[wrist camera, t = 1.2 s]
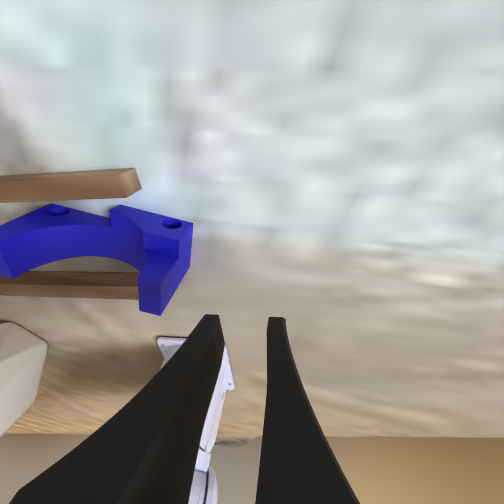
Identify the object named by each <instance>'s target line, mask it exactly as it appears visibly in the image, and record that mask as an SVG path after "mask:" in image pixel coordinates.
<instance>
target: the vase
mask: <svg viewBox="0 0 504 504" xmlns="http://www.w3.org/2000/svg"><path fill="white" fill-rule="evenodd" d="M47 350H48V344H47V343H46V342H45V341H44V340H42V339H41V338H39V337H37V336H36V335H34V334H32V333H31V332H29V331H27V330H26V329H24V328H22V327H21V326H19V325H17V324H15V323H11V322H6V323H2V324H0V437H1V436H2V435H3V434H4V433H5V432H6V431H7V430H8V429H9V428H10V427H11V426H12V425H13V424H14V423H15V422H16V421H17V420H18V419H19V418H20V417H21V416H22V415H23V414H24V412H25V411H26V410H27V409H28V408H29V407H30V406H31V405H32V404H33V402H34V401H35V399H36V396H37V393H38V389H39V385H40V381H41V377H42V373H43V369H44V365H45V361H46V356H47Z"/></svg>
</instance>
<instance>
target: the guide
mask: <svg viewBox="0 0 504 504" xmlns="http://www.w3.org/2000/svg"><path fill="white" fill-rule="evenodd" d="M140 189H142V188H141V185H140V182H139V179H138V176H137V173H136V170H135V168H129V169H112V170H95V171H79V172H62V173H45V174H29V175H12V176H0V203H6V202H31V201H56V200H81V199H106V198H127V197H129V196H130V195H132V194H134V193H135V192H137V191H139V190H140ZM140 274H141V273H100V272H25V273H23V274H21V275H19V276H18V277H16V278H14V279H11V278H7V277H3V276H0V295H7V296H40V297H72V298H104V299H137V300H139V295H138V281H137V278H138V277H139V275H140Z"/></svg>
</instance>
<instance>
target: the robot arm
mask: <svg viewBox="0 0 504 504" xmlns="http://www.w3.org/2000/svg"><path fill="white" fill-rule="evenodd" d="M157 343H158V346H159V348H160V350H161V352H162V354H163V357H164V361H163V364H162V366H161V368H160V370H159V372H158V373H157V374H156V375H155V376H154V377H153V378H152V379H151V380H150V381H149V382H148V384H147V385H146V386H145V387H144V388H143V389H142V390H141V391H140V392H139V393H138V394H137V395H136V396H134V397H133V398H132V399H131V400H130V401H129V402H128V403H127V404H126V405H125V406H124V407H123V408H122V409H121V410H119V411H118V412H117V413H116V414H115V415H114V416H113V417H112V418H111V419H109V420H108V421H107V422H106V423H105V424H104V425H103V426H101V427H100V428H99V429H98V430H96V431H95V432H94V433H93V434H92V435H90V436H89V437H88V438H87V439H85V440H84V441H83V442H82V443H81V444H80V445H78V446H77V447H76V448H75V449H73V450H72V451H71V452H69V453H68V454H67V455H65V456H64V457H63V458H61V459H60V460H59V461H57V462H56V463H55V464H53V465H52V466H51V467H49V468H48V469H47V470H45V471H44V472H43V473H41V474H40V475H39V476H37V477H36V478H35V479H33V480H32V481H31V482H29V483H28V484H26V485H25V486H24V487H22V488H21V489H20V490H19V491H18V492H17V493H16V495H15V496H14V497H13V499H12V500H11V502H10V503H9V504H217V493H218V484H217V479H216V476H215V472H214V469H213V468H212V467H209V461H210V456H211V454H209V452H210V451H211V449H212V447H213V445H214V443H215V440H216V435H217V431H218V426H219V421H220V417H221V412H222V407H223V403H224V398H225V393H226V390H233V389H234V382H233V377H232V372H231V368H230V363H229V359H228V354H227V350H226V345H225V342H224V337H223V333H222V328H221V324H220V319H219V315H209V314H206V315H204V316H203V318H202V319H201V320H200V322H199V323H198V324H197V326H196V327H195V328H194V330H193V331H192V332H191V334H190V335H189V336H188V338H187V339H186V338H168V337H159V338H158V340H157ZM258 476H259V477H258V485H257V494H256V502H255V504H360V503H359V501H358V499H357V497H356V496H355V494H354V492H353V490H352V488H351V486H350V485H349V483H348V481H347V479H346V477H345V475H344V474H343V472H342V470H341V468H340V466H339V464H338V462H337V460H336V458H335V456H334V454H333V452H332V450H331V448H330V446H329V444H328V442H327V440H326V438H325V436H324V434H323V432H322V429H321V427H320V425H319V423H318V421H317V419H316V416H315V414H314V412H313V409H312V407H311V405H310V402H309V400H308V398H307V395H306V393H305V390H304V388H303V385H302V382H301V380H300V377H299V374H298V371H297V368H296V365H295V362H294V359H293V356H292V352H291V349H290V345H289V340H288V336H287V330H286V319H284V318H283V317H269V319H268V327H267V396H266V406H265V417H264V427H263V437H262V447H261V457H260V466H259V475H258Z"/></svg>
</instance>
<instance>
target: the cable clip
mask: <svg viewBox="0 0 504 504" xmlns="http://www.w3.org/2000/svg"><path fill="white" fill-rule="evenodd" d="M192 233H193V223H191V222H187V221H183V220H179V219H175V218H171V217H167V216H163V215H159V214H155V213H151V212H147V211H143V210H139V209H135V208H131V207H128V206H124V205H119V206H117V207H116V208H114V209H112V210H111V211H110V218H107V217H103V216H99V215H95V214H91V213H87V212H84V211H80V210H76V209H72V208H68V207H64V206H60V205H56V204H52V203H51V204H49V205H47V206H44V207H42V208H40V209H37V210H35V211H33V212H31V213H28V214H26V215H24V216H21V217H19V218H17V219H14V220H12V221H10V222H7V223H5V224H3V225H1V226H0V276H3V277H7V278H11V279H14V278H16V277H18V276H19V275H21V274H23V273H25V272H27V271H29V270H31V269H33V268H36V267H38V266H41V265H44V264H47V263H50V262H53V261H57V260H62V259H66V258H72V257H82V256H101V257H109V258H114V259H118V260H121V261H124V262H126V263H129V264H130V265H132V266H134V267H135V268H137V269H138V270H139V271H140V272H141V274H140V275H139V277H138V278H137V281H138V295H139V309H140V311H143V312H147V313H151V314H155V315H159V316H161V314H162V313H163V311H164V309H165V308H166V306H167V304H168V302H169V301H170V299H171V297H172V296H173V294H174V292H175V291H176V289H177V287H178V286H179V284H180V282H181V281H182V279H183V277H184V275H185V274H186V272H187V270H188V269H189V267H190V256H191V245H192Z"/></svg>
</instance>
